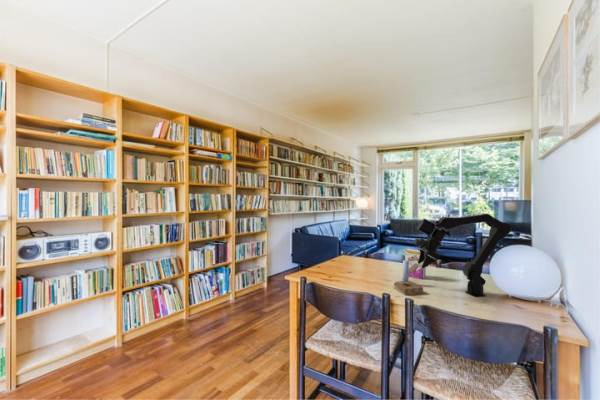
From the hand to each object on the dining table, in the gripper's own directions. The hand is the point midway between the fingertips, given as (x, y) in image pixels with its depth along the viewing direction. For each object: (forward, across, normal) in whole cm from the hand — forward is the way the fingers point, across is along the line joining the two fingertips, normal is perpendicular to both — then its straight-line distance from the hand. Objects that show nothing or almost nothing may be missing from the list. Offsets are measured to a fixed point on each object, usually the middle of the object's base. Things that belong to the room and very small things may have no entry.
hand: (420, 265), depth 145 cm
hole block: (+15, +3, 0) cm, 15 cm away
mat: (+14, -10, +2) cm, 17 cm away
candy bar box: (+11, -24, +8) cm, 28 cm away
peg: (+14, -8, +1) cm, 16 cm away
